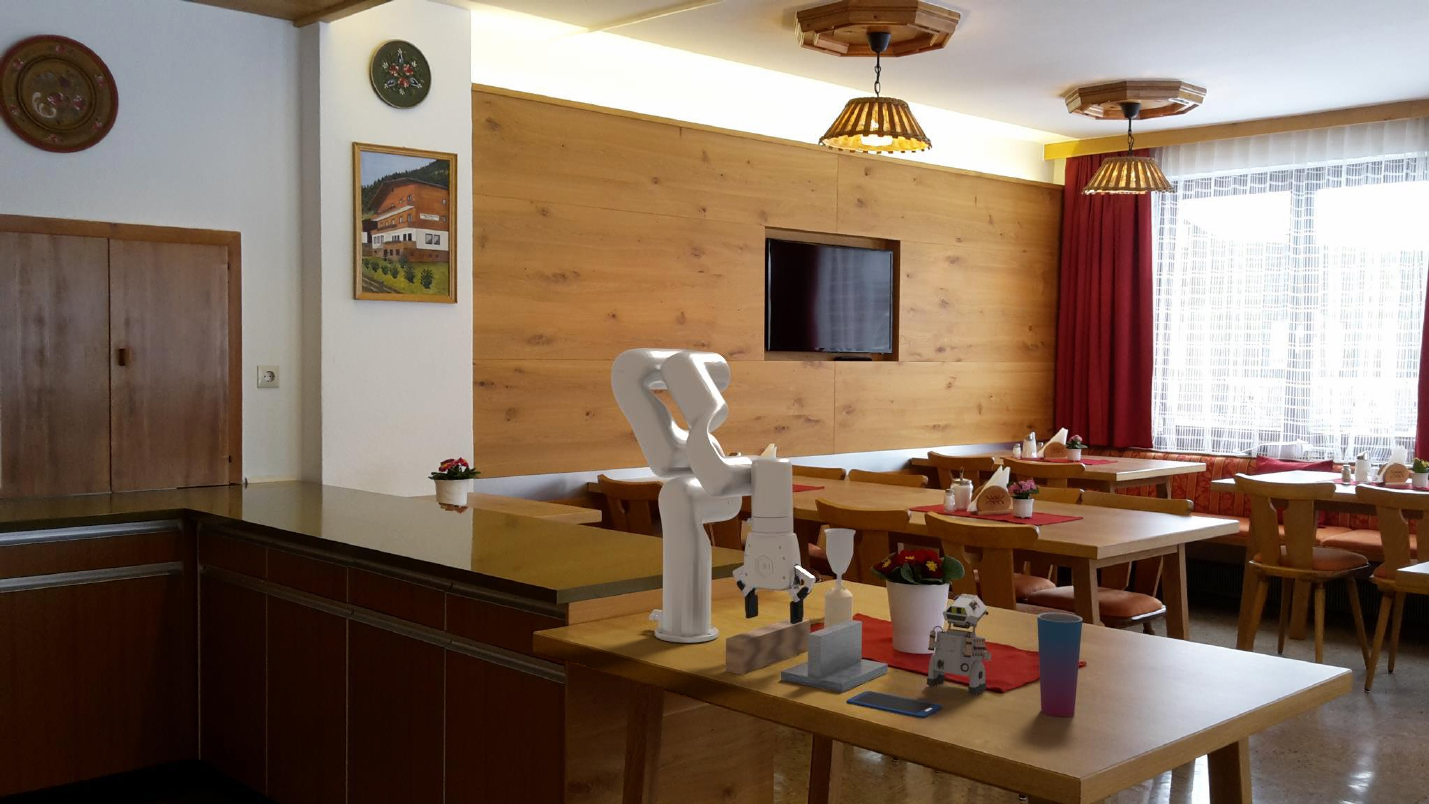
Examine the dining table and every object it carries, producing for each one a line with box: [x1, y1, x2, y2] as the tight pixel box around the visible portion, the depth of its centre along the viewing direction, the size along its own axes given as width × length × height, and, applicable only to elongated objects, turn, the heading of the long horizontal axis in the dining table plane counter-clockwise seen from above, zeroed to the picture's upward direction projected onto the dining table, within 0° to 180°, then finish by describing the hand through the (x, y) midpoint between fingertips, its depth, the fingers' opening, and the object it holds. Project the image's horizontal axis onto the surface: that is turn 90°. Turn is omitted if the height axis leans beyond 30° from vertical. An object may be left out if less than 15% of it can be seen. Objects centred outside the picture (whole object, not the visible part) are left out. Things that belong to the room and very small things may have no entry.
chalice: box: [823, 528, 857, 587], centre depth 252 cm, size 7×7×18 cm
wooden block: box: [725, 618, 812, 675], centre depth 213 cm, size 22×4×6 cm, turn 143°
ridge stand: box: [780, 620, 889, 694], centre depth 202 cm, size 12×16×8 cm
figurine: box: [926, 593, 993, 697], centre depth 197 cm, size 9×12×15 cm
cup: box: [1036, 612, 1083, 718], centre depth 183 cm, size 7×7×15 cm
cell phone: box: [846, 690, 943, 719], centre depth 186 cm, size 7×14×1 cm, turn 54°
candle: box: [823, 585, 854, 629], centre depth 231 cm, size 6×6×10 cm
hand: (774, 619), depth 212 cm, fingers open, 9 cm apart
